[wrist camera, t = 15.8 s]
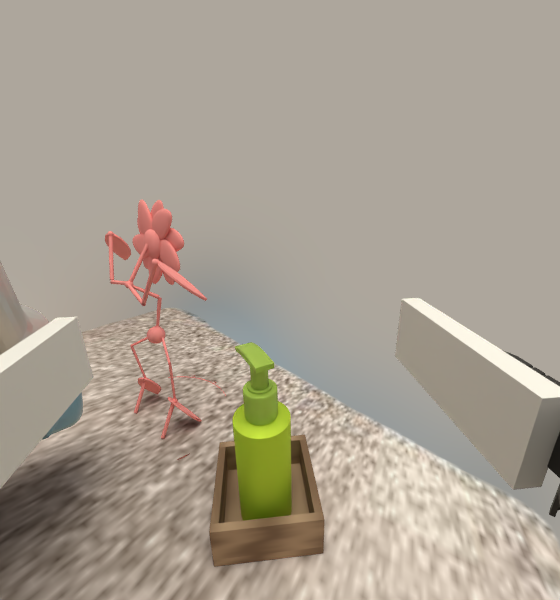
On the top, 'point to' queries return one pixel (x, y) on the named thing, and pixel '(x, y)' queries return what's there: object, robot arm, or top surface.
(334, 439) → the top surface
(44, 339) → the robot arm
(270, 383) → the soap dispenser
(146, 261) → the figurine
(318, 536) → the walnut caddy
